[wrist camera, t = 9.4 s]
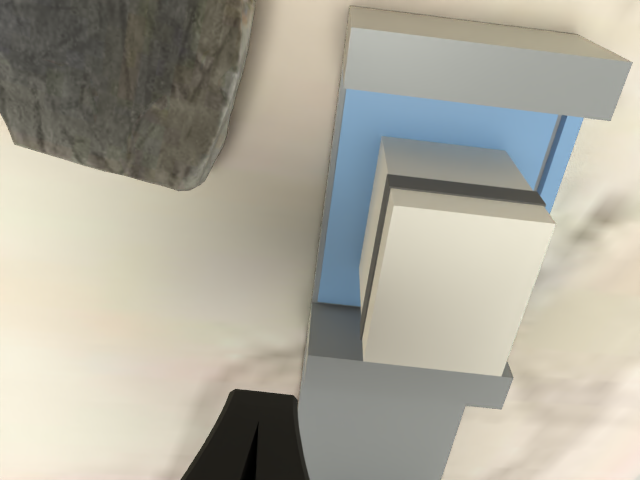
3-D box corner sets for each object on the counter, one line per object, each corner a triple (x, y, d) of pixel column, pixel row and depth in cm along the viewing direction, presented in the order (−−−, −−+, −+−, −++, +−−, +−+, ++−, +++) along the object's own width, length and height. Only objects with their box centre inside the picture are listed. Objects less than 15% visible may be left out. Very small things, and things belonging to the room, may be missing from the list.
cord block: (469, 281, 21) (502, 377, 16) (357, 268, 21) (361, 362, 16) (507, 149, 18) (559, 222, 14) (380, 134, 18) (392, 203, 14)
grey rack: (436, 503, 29) (448, 580, 25) (287, 487, 28) (279, 563, 25) (593, 36, 17) (652, 65, 14) (349, 5, 17) (351, 27, 14)
